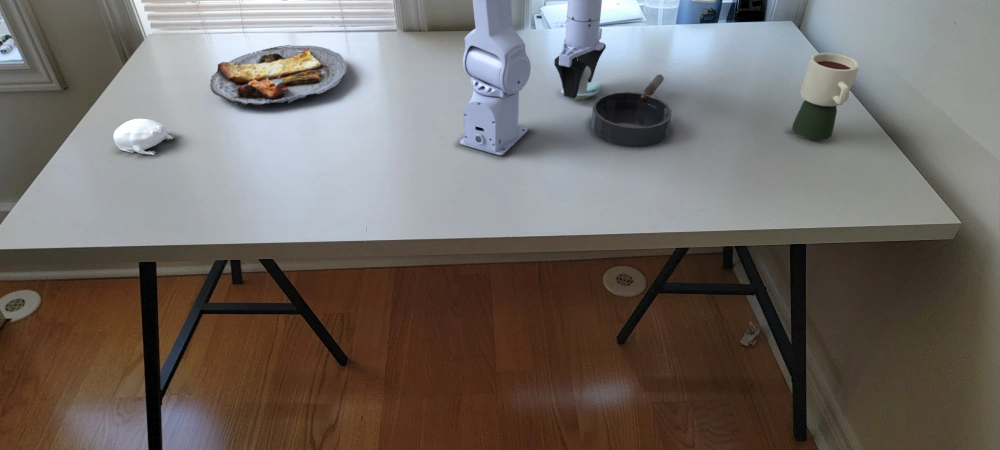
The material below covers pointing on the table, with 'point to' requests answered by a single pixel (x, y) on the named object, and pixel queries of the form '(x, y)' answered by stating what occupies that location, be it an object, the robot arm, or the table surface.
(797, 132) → the character mug
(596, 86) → the pacifier
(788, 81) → the table surface
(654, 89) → the pan handle
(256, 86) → the food plate
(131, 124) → the white frog figurine
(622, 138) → the pan
